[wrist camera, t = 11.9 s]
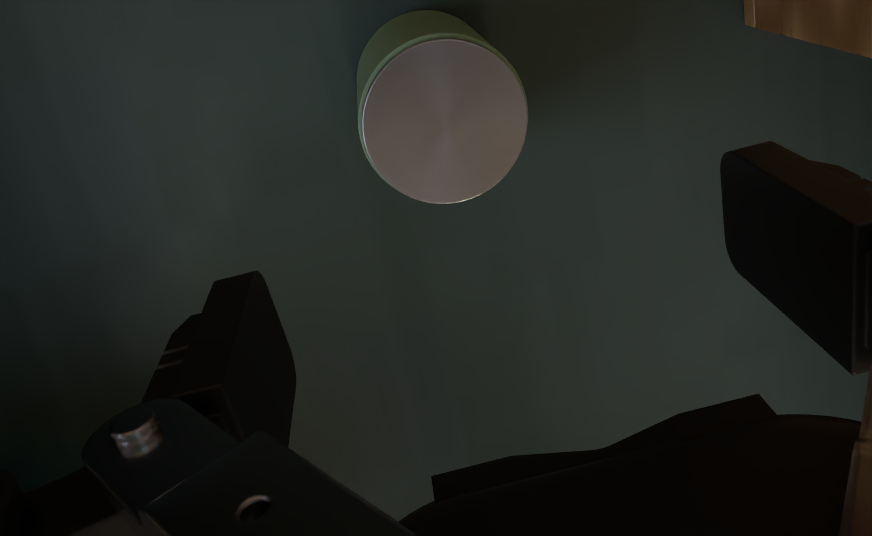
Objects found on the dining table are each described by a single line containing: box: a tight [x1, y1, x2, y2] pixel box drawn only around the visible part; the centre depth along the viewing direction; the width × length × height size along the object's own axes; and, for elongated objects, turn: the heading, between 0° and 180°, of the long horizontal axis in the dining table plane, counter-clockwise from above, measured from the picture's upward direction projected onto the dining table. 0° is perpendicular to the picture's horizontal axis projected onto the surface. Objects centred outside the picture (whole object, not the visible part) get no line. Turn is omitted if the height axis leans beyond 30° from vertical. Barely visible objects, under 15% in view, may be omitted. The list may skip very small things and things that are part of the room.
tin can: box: [357, 10, 528, 204], centre depth 23 cm, size 5×5×6 cm
